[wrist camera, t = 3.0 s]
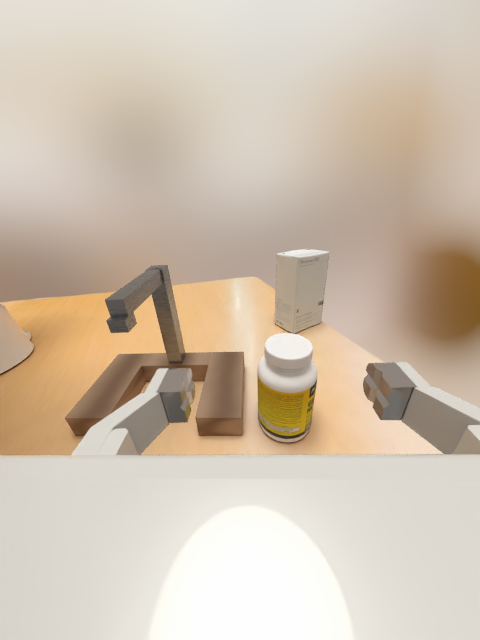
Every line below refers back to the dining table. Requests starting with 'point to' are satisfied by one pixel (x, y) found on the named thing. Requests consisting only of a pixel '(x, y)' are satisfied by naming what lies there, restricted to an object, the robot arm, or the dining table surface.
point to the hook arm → (163, 298)
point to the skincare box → (300, 288)
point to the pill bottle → (286, 387)
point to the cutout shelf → (135, 369)
